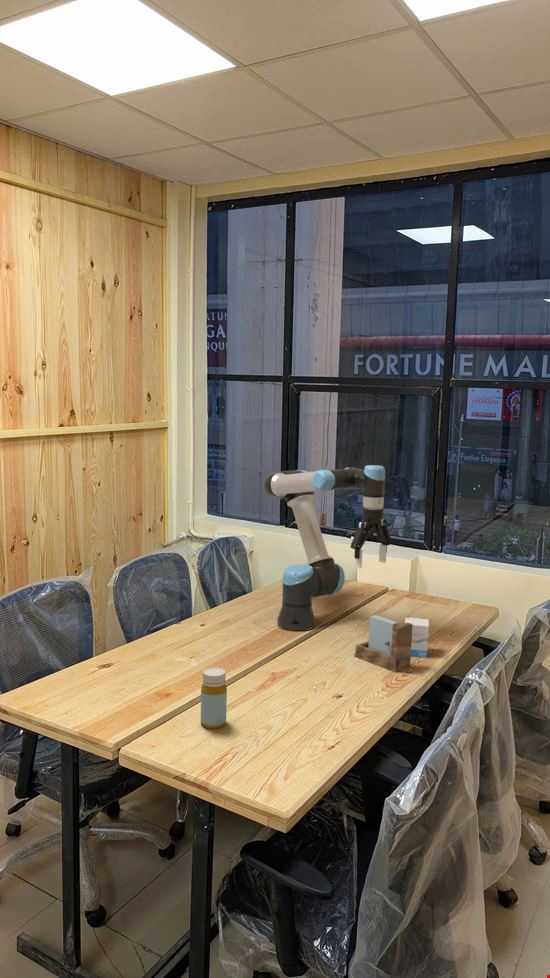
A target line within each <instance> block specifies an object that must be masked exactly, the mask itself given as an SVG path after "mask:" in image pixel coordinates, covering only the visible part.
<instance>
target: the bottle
mask: <svg viewBox="0 0 550 978" xmlns="http://www.w3.org/2000/svg"><path fill="white" fill-rule="evenodd" d="M226 674H227V673H226V669H224V668H222V667H215V666H214V667H207V668H205V669H204V670H203V671H202V684H201V687H200V724H201V725H202V726H203V727H204V728H206V729H209V730H213V729H214V730H217V729H220V728H223V727H224V726H225V724H226V723H227V700H228V699H227V698H228V696H227V695H228V694H227V693H228V689H227V687H228V686H227V684H226V679H227V678H226V677H227V676H226Z"/></svg>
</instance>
